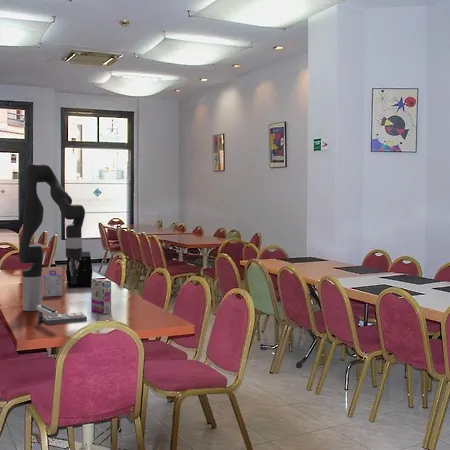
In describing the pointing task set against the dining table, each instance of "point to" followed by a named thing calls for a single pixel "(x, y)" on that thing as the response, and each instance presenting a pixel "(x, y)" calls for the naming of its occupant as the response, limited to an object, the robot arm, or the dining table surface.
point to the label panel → (65, 318)
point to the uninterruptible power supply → (81, 272)
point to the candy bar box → (101, 296)
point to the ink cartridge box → (53, 284)
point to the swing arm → (47, 310)
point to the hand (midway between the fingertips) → (74, 283)
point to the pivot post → (40, 317)
